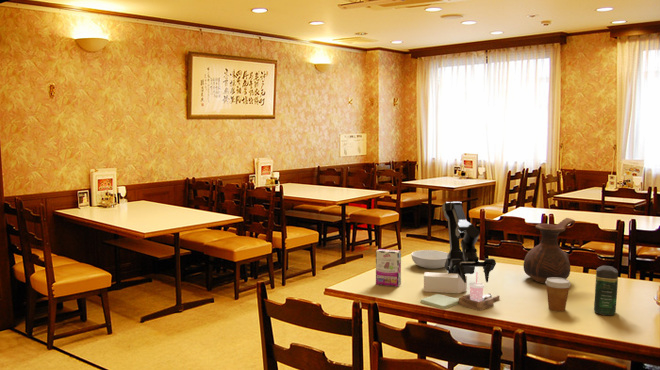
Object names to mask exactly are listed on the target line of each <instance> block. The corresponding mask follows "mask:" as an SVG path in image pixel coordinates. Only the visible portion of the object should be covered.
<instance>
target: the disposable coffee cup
mask: <svg viewBox="0 0 660 370" xmlns="http://www.w3.org/2000/svg"><path fill="white" fill-rule="evenodd" d="M570 282H571V281H570V280H569V279H568V278H567V279H564V278H557V277H551V278H547V280H546V282H545V283H544V284H545V285H546V295H547V304H548V307H547V308H548V309H549V310H550V311H554V312H564V311H566V306H567V301H568V297H569V291H570V287H571V283H570Z"/></svg>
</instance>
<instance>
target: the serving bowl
mask: <svg viewBox="0 0 660 370" xmlns="http://www.w3.org/2000/svg"><path fill="white" fill-rule="evenodd" d="M448 253H449V252H446V251H442V250H436V249H424V250H423V249H421V250H420V249H419V250H415V251H412V252H411V253H410V254H411V259H412V262H413V263H414V264H415V265H417V266H419V267H421V268H423V269H429V270H437V269H441V268H445V262H446V260H447V255H448Z"/></svg>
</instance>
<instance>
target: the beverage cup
mask: <svg viewBox="0 0 660 370" xmlns="http://www.w3.org/2000/svg"><path fill="white" fill-rule="evenodd" d="M468 286H469V294H470V300H474V301H477V302H480V301H482V298H483V295H484V288H485V283H483V282H479V281H478V271H476V274H475V282H474V281H473V282H471V281H470V282H469V283H468Z"/></svg>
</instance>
